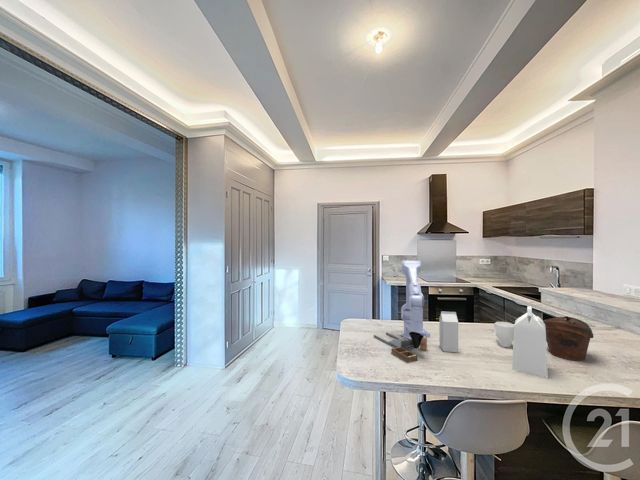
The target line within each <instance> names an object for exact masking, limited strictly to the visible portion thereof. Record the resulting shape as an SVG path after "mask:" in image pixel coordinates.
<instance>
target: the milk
mask: <svg viewBox="0 0 640 480" xmlns="http://www.w3.org/2000/svg"><path fill="white" fill-rule="evenodd" d="M543 321H544V320H542V318H541V317H539V316H538V315H535V314H534V313H533V308H532V306H529V305H527V308H526V313H524V314H522V315H521V316H519V317H517V319H515V321H514V340H513V342H512V345H513V347H512V366H511V370H513V371H515V372H516V371H517V372H519V373H520V372H521V373H525V374H529V375H532V376H537V377H541V378H546V379H548V377H549V376H548V373H549V372H548V353H547V349H548V348H547V342H546V327H545V324H544V323H543Z"/></svg>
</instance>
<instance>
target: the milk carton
mask: <svg viewBox="0 0 640 480" xmlns="http://www.w3.org/2000/svg"><path fill="white" fill-rule="evenodd" d="M438 320H439V321H438V322H439V331H438V333H439V347H440V349H441V351H442V352H447V353H456V354H457V353H459V320H458V316H457V312H456V311H440V316H439V319H438Z"/></svg>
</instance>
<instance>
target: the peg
mask: <svg viewBox="0 0 640 480" xmlns="http://www.w3.org/2000/svg"><path fill="white" fill-rule="evenodd" d="M419 350H420V351H421V352H427V351H428V338H426V337H425V336H424V337H423V338H422V340H421V343H420V346H419Z"/></svg>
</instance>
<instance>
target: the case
mask: <svg viewBox="0 0 640 480" xmlns="http://www.w3.org/2000/svg"><path fill="white" fill-rule="evenodd" d="M542 321H543V323H544V324H545V327H546V345H547V349H548V352H549V353H550V354H551V355H552V356H555V357H558V358H561V359H565V360H569V361H579V362H580V361H583V360H586V357H587V352H588V348H589V344H590V341H591V339H593V338H594V337H595V336H594V333H593V330H592V328H591V327H590V325H589V324H588V323H586V322H584V321H583V320H582V319H578V318H575V317H572V316H558V317H551V318H548V319H544V320H542Z"/></svg>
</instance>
